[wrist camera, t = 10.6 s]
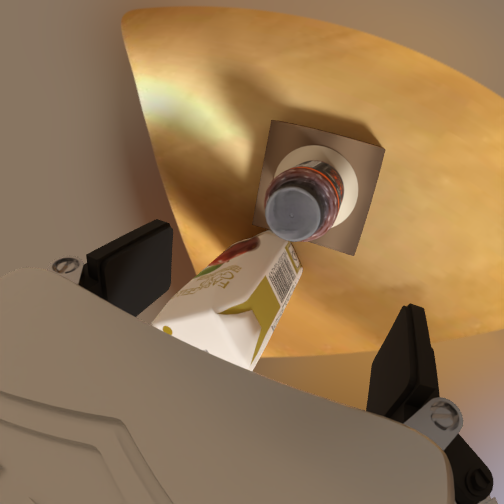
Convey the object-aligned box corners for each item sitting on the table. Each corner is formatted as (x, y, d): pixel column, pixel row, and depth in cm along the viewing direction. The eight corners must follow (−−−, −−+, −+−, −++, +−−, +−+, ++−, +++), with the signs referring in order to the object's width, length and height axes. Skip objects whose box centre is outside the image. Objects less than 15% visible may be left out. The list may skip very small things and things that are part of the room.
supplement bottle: (352, 206, 30) (346, 245, 20) (300, 221, 32) (269, 265, 23) (333, 151, 28) (317, 160, 19) (280, 170, 31) (238, 190, 21)
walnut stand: (383, 147, 29) (385, 149, 26) (355, 246, 34) (353, 256, 32) (279, 121, 32) (271, 120, 29) (260, 217, 37) (251, 225, 35)
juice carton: (312, 272, 38) (264, 380, 21) (254, 289, 42) (184, 385, 25) (287, 217, 36) (217, 297, 20) (230, 240, 40) (138, 318, 24)
